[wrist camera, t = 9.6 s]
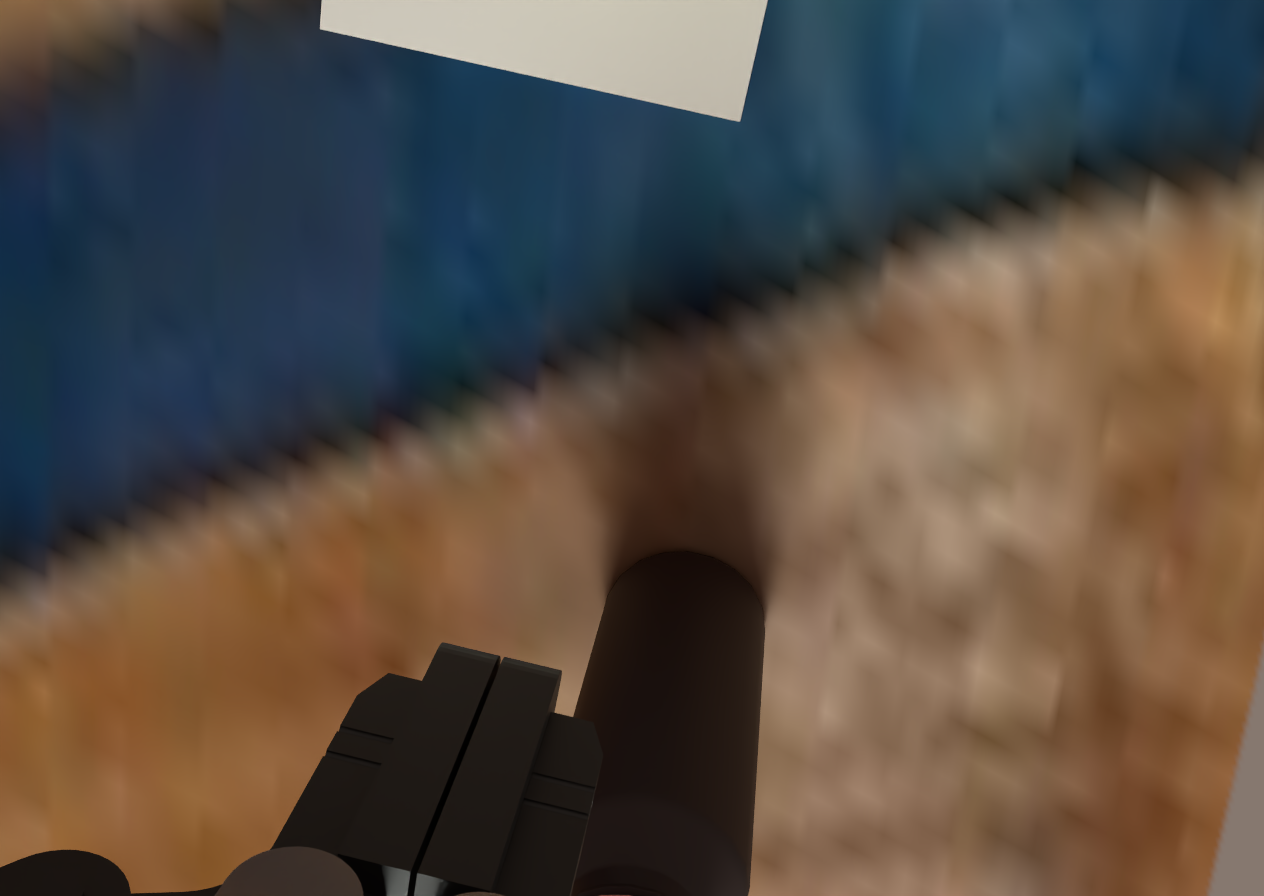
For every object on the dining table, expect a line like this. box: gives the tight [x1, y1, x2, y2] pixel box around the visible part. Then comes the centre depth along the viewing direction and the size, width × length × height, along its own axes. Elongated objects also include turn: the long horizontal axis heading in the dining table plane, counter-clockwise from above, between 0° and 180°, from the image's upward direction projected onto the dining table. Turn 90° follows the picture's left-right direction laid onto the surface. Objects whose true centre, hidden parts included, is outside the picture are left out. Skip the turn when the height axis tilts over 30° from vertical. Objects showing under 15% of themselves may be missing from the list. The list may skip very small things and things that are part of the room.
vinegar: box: [571, 552, 765, 896], centre depth 41 cm, size 7×7×20 cm
